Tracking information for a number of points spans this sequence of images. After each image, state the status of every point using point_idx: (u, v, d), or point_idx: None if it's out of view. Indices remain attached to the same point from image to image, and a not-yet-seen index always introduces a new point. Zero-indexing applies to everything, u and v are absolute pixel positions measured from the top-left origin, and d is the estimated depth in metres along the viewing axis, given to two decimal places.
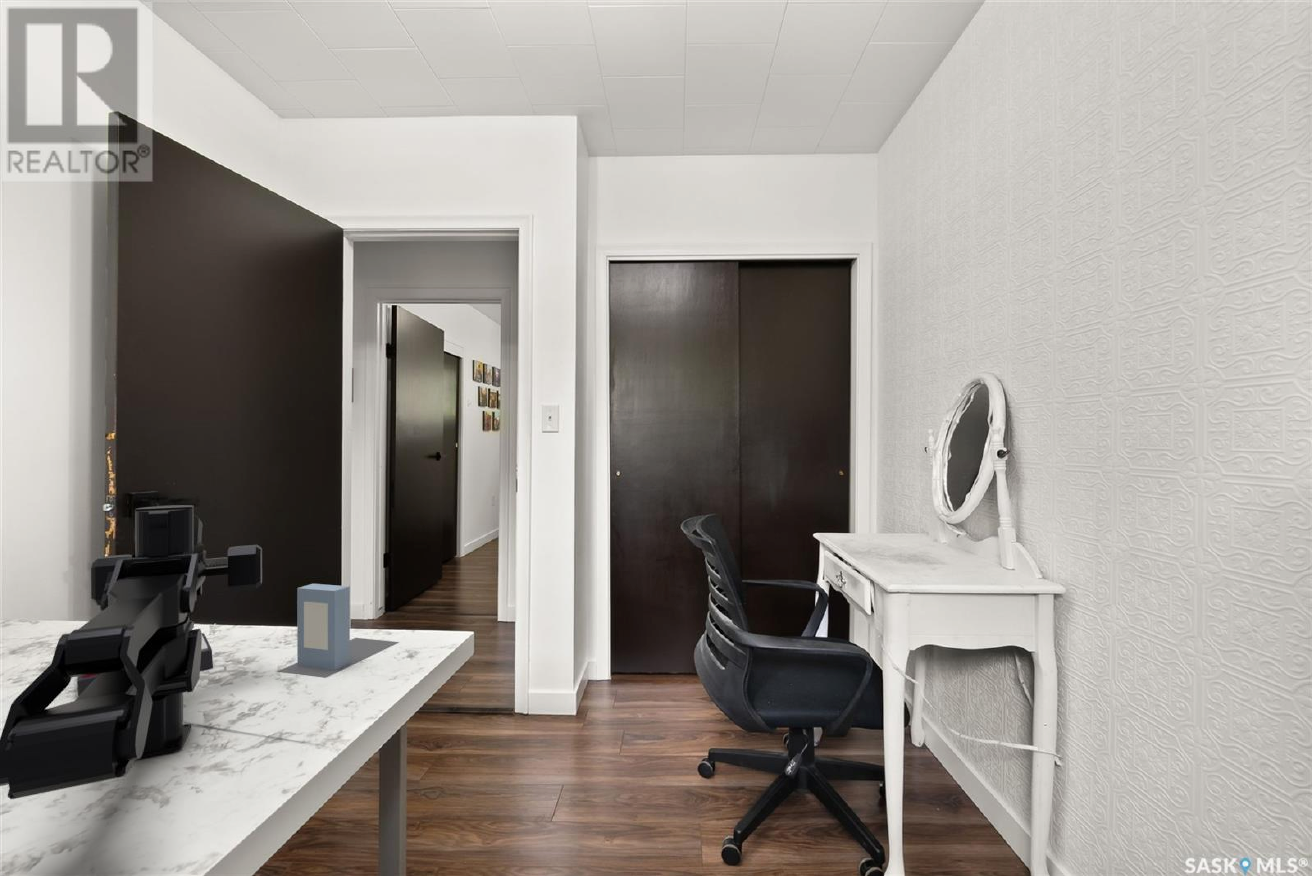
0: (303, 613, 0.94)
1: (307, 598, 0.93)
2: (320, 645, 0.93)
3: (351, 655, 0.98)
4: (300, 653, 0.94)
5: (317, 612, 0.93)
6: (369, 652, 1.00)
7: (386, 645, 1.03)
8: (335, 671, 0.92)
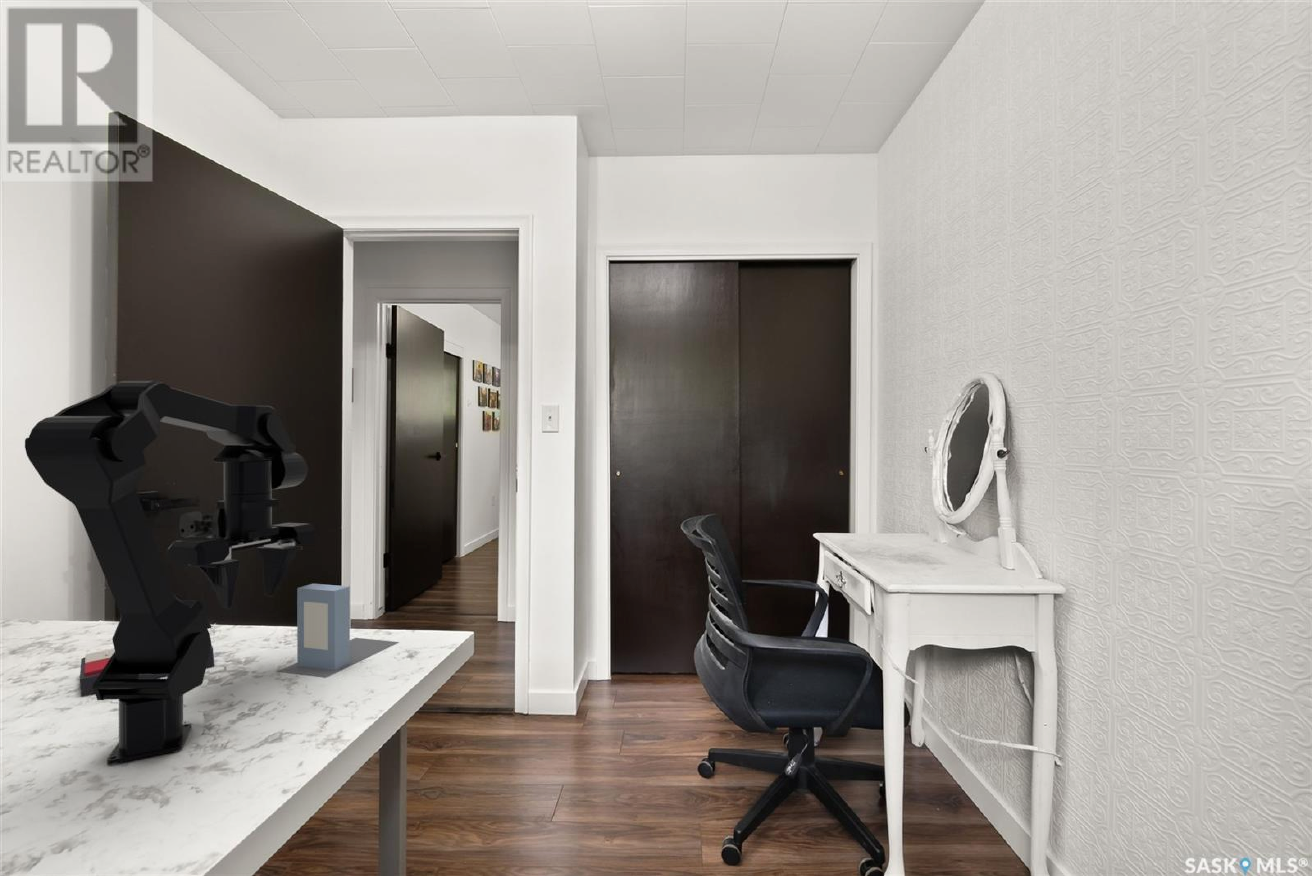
0: (303, 613, 0.94)
1: (307, 598, 0.93)
2: (320, 645, 0.93)
3: (351, 655, 0.98)
4: (300, 653, 0.94)
5: (317, 612, 0.93)
6: (369, 652, 1.00)
7: (386, 645, 1.03)
8: (335, 671, 0.92)
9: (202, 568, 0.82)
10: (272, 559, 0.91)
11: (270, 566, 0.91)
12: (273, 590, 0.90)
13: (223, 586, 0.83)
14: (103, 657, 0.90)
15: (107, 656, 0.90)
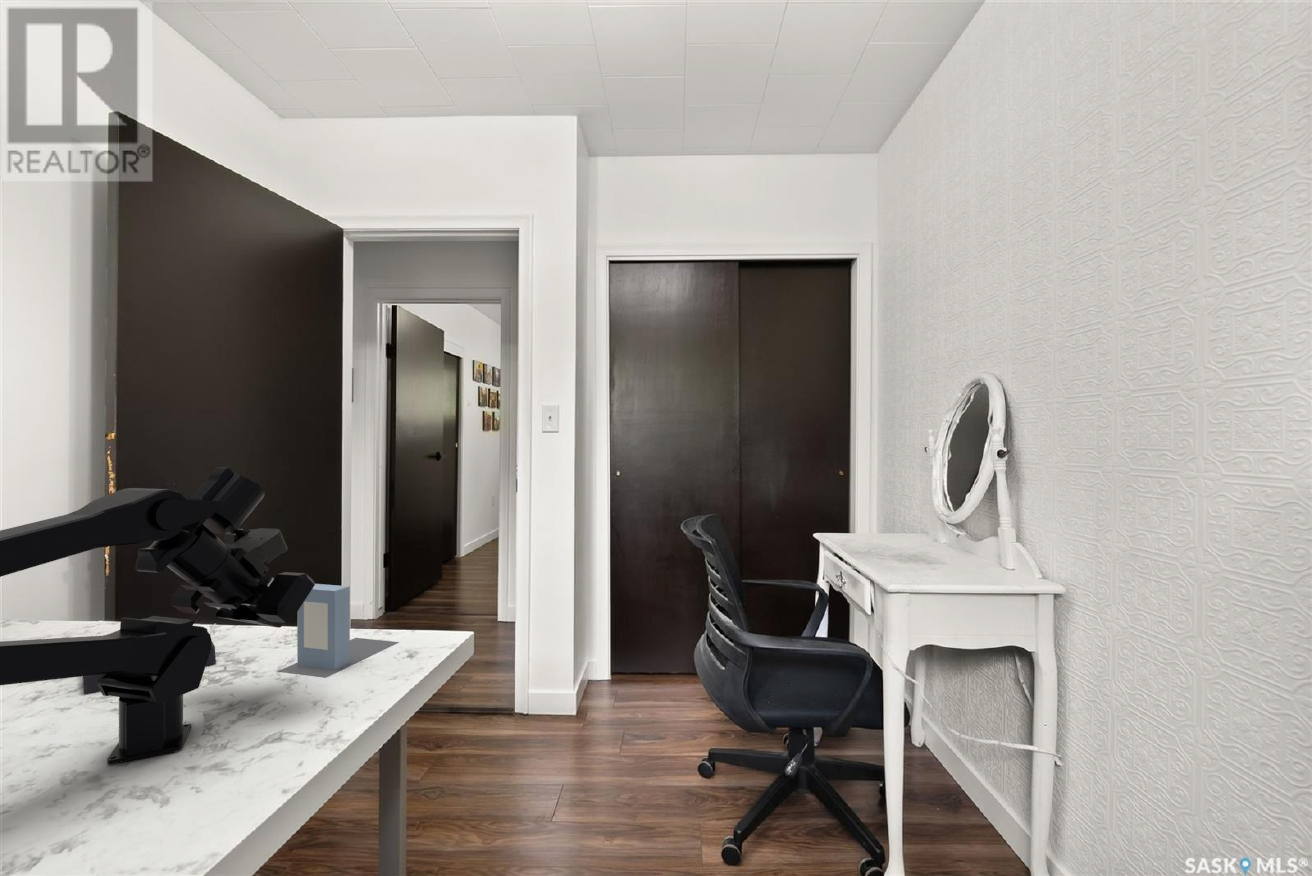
0: (303, 613, 0.94)
1: (307, 598, 0.93)
2: (320, 645, 0.93)
3: (351, 655, 0.98)
4: (300, 653, 0.94)
5: (317, 612, 0.93)
6: (369, 652, 1.00)
7: (386, 645, 1.03)
8: (335, 671, 0.92)
9: None
10: None
11: None
12: (274, 626, 0.86)
13: None
14: None
15: None
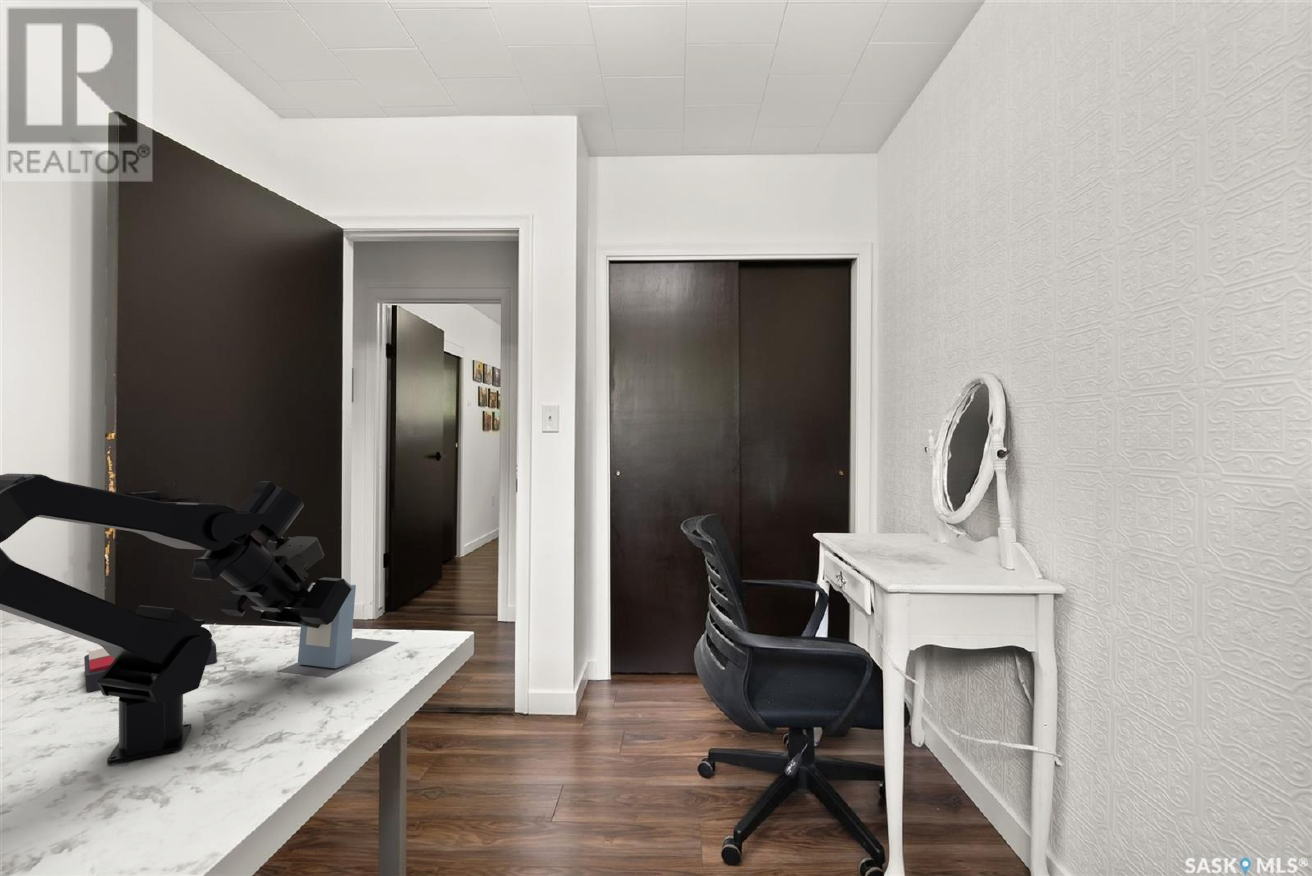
0: None
1: None
2: (322, 642, 0.93)
3: (351, 655, 0.98)
4: (301, 650, 0.94)
5: None
6: (369, 652, 1.00)
7: (386, 645, 1.03)
8: (335, 671, 0.92)
9: None
10: None
11: None
12: (312, 627, 0.92)
13: None
14: (106, 654, 0.91)
15: None
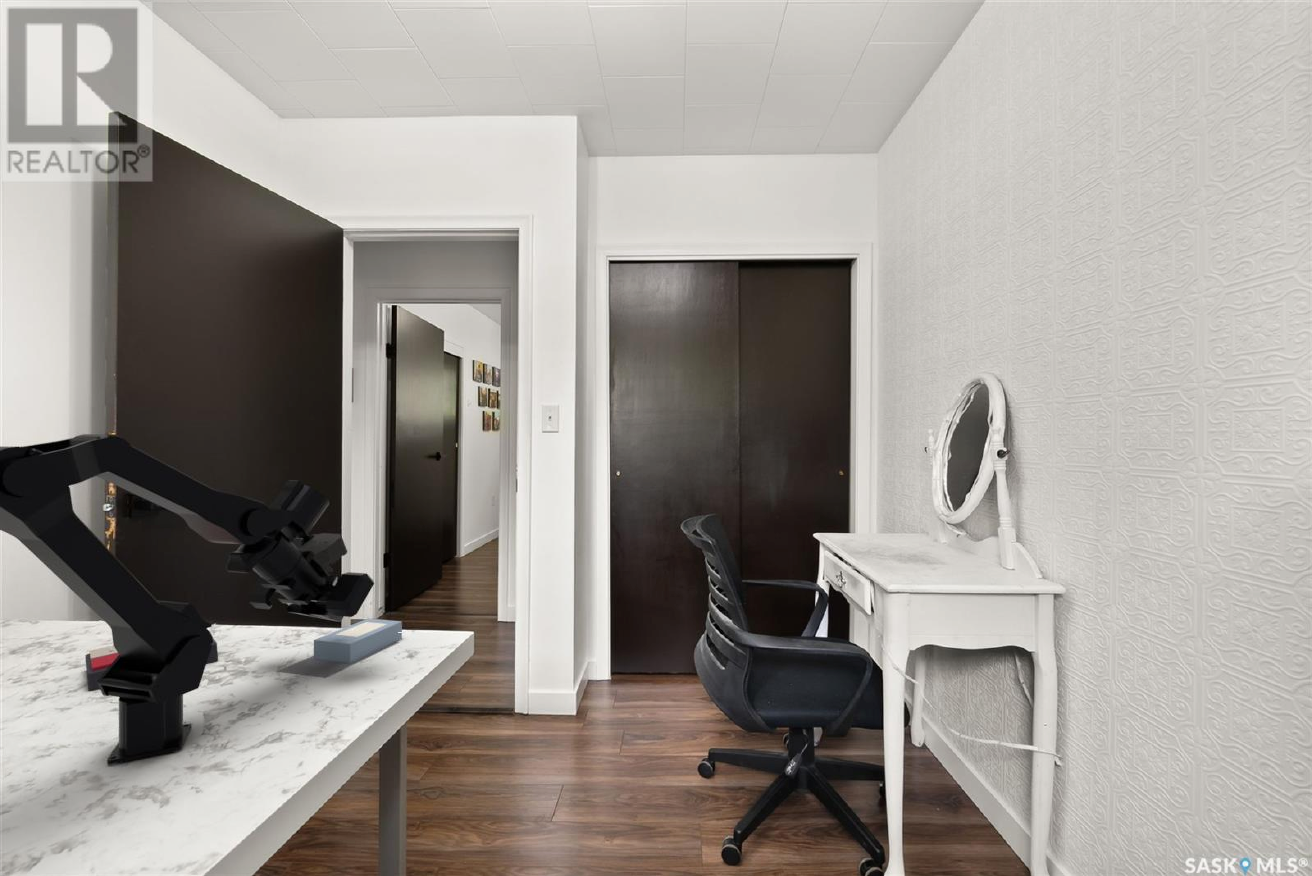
0: (358, 625, 1.04)
1: (370, 621, 1.06)
2: (352, 635, 0.99)
3: None
4: (326, 636, 0.99)
5: (371, 625, 1.04)
6: None
7: None
8: (335, 671, 0.92)
9: None
10: None
11: None
12: (335, 620, 0.96)
13: None
14: (108, 653, 0.92)
15: (112, 652, 0.92)
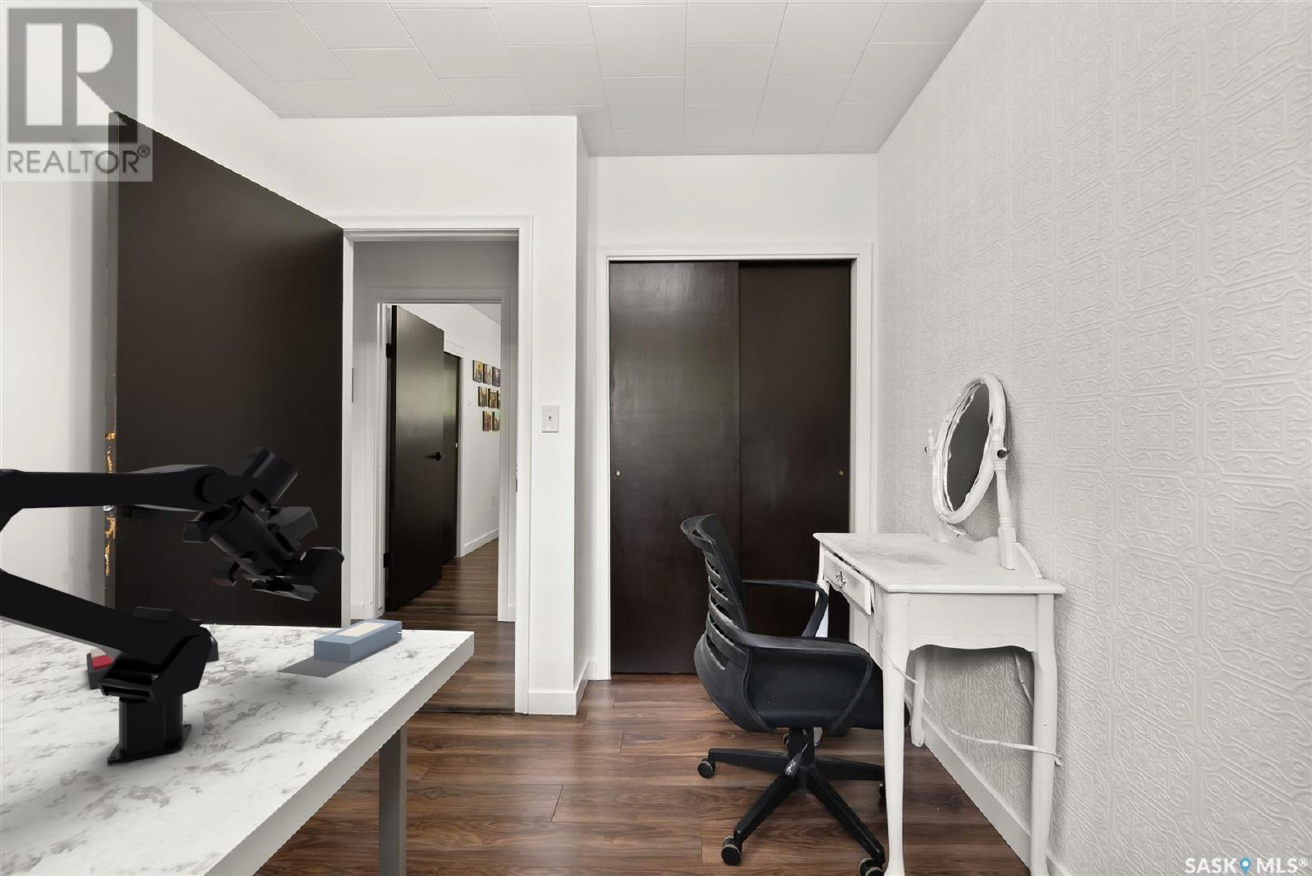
0: (358, 625, 1.04)
1: (370, 621, 1.06)
2: (352, 635, 0.99)
3: None
4: (326, 636, 0.99)
5: (371, 625, 1.04)
6: None
7: None
8: (335, 671, 0.92)
9: None
10: None
11: None
12: (304, 599, 0.91)
13: None
14: None
15: None
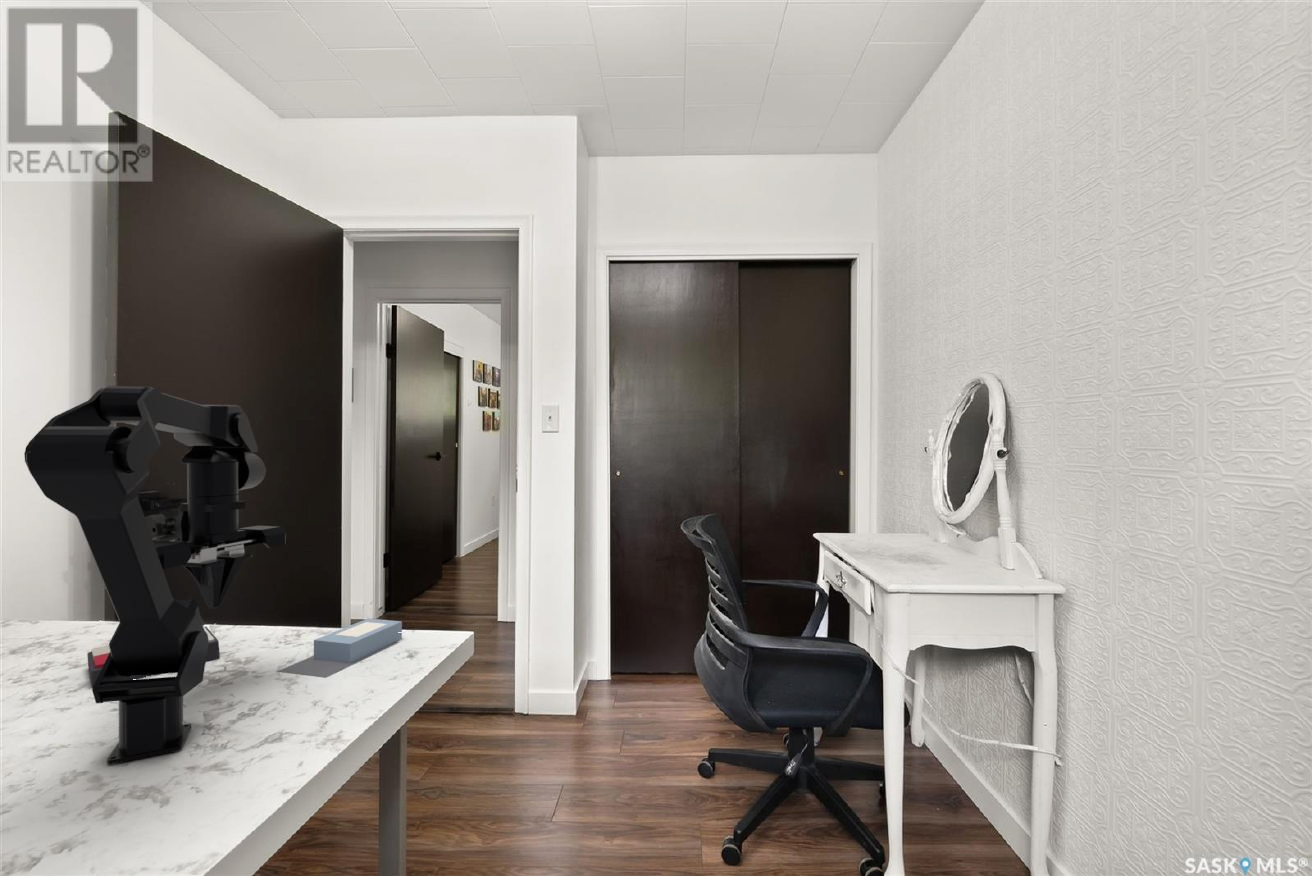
0: (358, 625, 1.04)
1: (370, 621, 1.06)
2: (352, 635, 0.99)
3: None
4: (326, 636, 0.99)
5: (371, 625, 1.04)
6: None
7: None
8: (335, 671, 0.92)
9: (188, 568, 0.83)
10: None
11: None
12: (219, 601, 0.84)
13: (209, 586, 0.83)
14: None
15: None
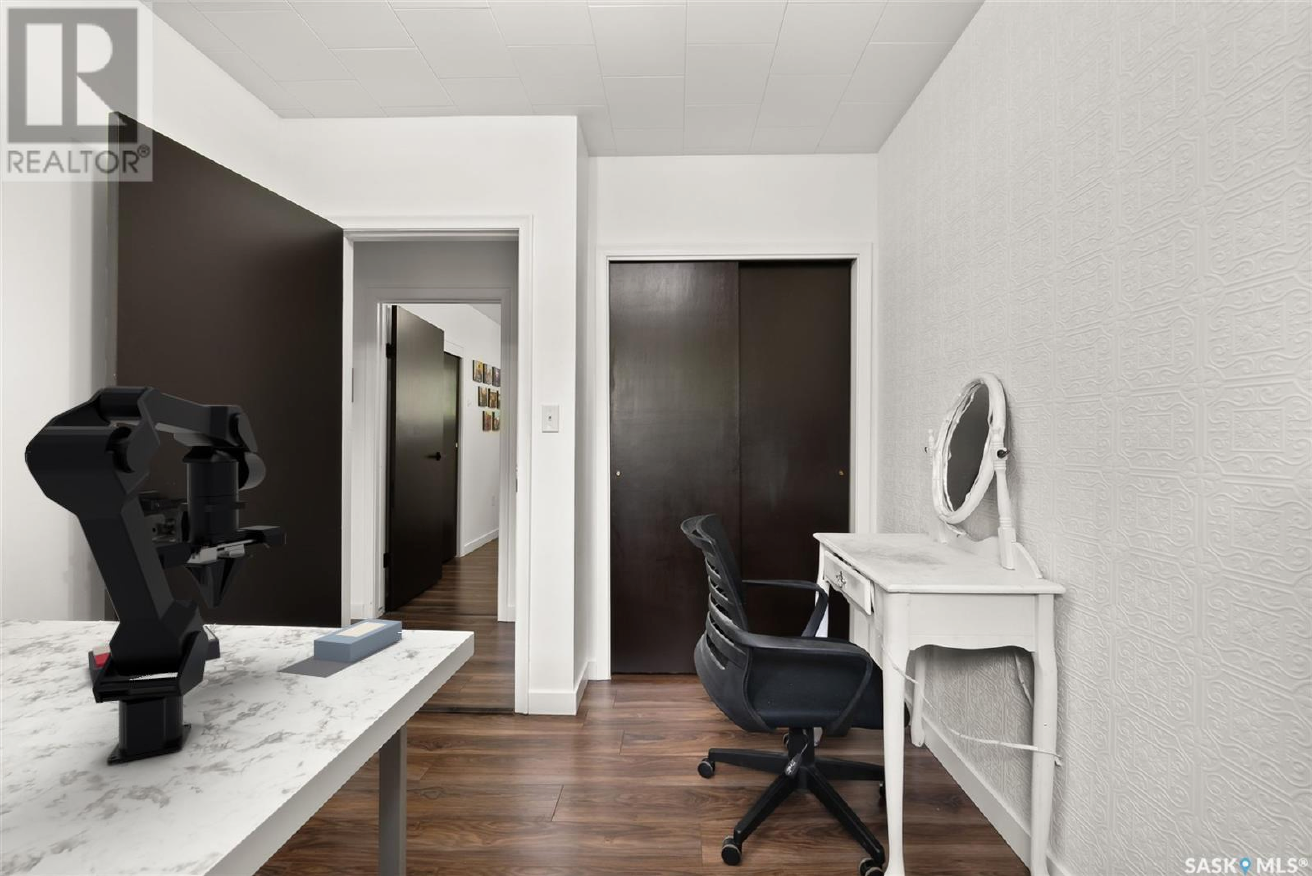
0: (358, 625, 1.04)
1: (370, 621, 1.06)
2: (352, 635, 0.99)
3: None
4: (326, 636, 0.99)
5: (371, 625, 1.04)
6: None
7: None
8: (335, 671, 0.92)
9: (187, 568, 0.83)
10: None
11: None
12: (219, 601, 0.84)
13: (209, 586, 0.83)
14: None
15: None
